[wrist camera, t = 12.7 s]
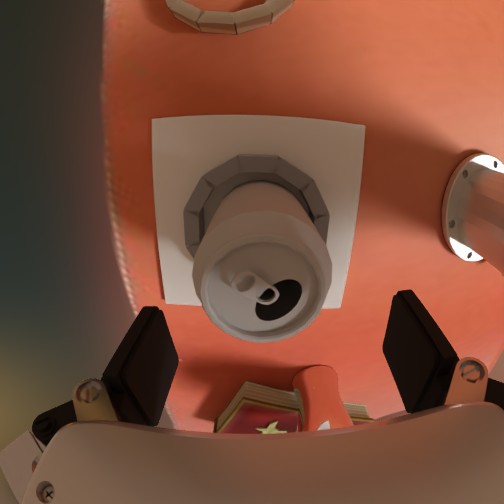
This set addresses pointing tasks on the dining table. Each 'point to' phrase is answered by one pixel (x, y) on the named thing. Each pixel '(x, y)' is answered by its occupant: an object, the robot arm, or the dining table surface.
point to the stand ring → (229, 16)
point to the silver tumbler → (319, 400)
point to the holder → (249, 169)
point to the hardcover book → (270, 412)
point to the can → (262, 264)
